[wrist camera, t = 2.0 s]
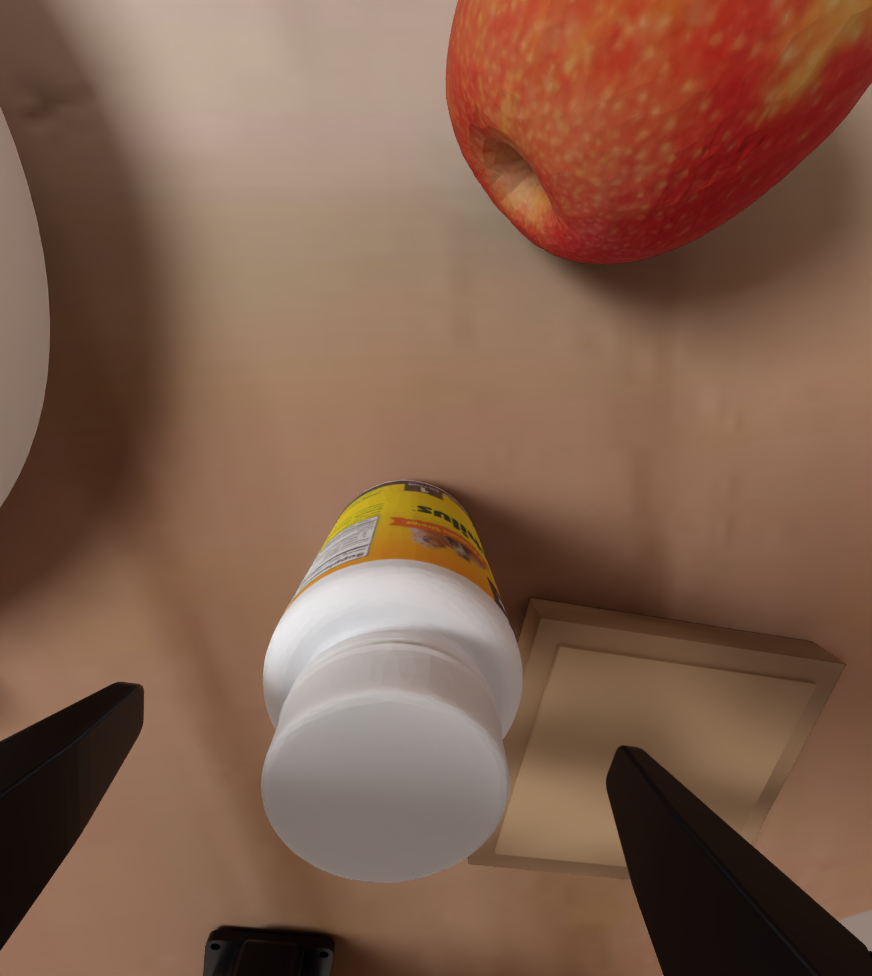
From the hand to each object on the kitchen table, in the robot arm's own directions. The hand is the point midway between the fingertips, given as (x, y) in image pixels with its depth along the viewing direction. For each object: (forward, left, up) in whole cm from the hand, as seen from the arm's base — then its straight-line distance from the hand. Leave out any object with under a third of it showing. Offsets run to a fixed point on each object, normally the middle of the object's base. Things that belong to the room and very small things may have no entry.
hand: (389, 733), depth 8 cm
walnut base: (-8, -12, -9) cm, 17 cm away
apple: (+14, -3, -9) cm, 17 cm away
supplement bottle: (0, 0, -9) cm, 9 cm away
